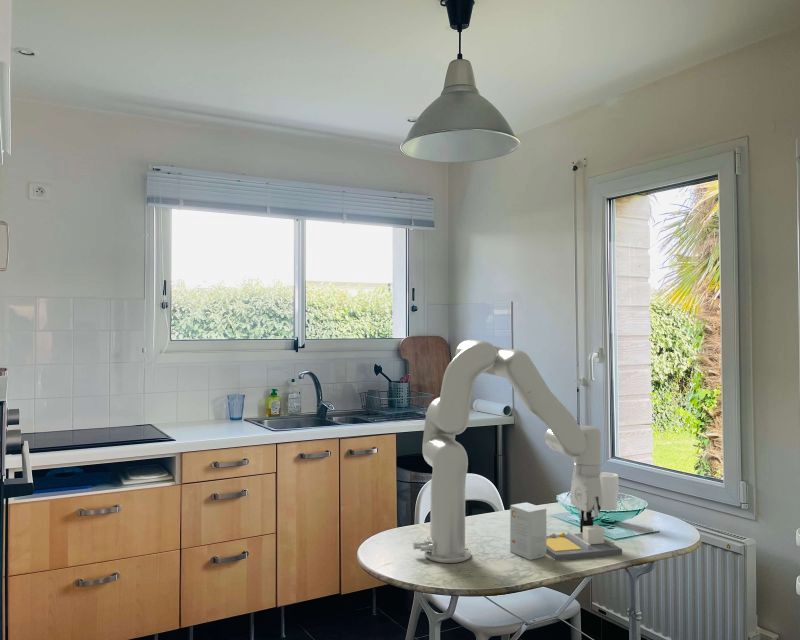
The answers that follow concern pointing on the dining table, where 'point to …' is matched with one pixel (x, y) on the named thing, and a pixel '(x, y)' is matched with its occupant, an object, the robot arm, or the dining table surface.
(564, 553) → the plate
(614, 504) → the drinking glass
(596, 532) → the lever
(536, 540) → the small box
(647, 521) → the dining table surface
